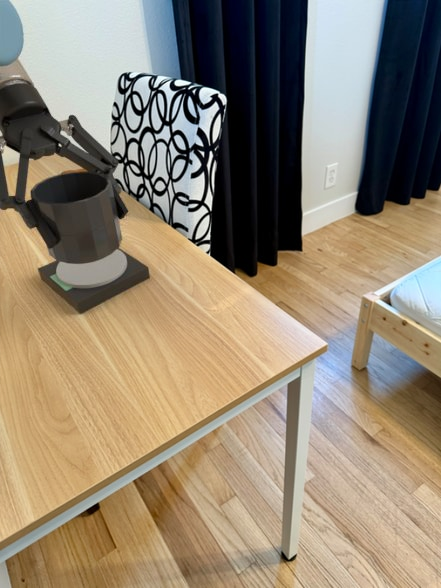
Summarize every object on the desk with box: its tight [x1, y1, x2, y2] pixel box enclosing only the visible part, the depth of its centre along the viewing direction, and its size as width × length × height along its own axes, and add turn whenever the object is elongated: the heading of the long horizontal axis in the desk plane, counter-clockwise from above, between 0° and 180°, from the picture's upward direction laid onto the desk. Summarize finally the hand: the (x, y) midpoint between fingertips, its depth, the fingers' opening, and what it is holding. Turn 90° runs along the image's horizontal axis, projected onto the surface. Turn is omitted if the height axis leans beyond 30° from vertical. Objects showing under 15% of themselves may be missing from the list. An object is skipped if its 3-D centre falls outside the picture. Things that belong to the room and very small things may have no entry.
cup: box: [29, 171, 123, 264], centre depth 64 cm, size 11×11×10 cm
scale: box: [37, 247, 151, 315], centre depth 82 cm, size 15×15×3 cm
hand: (90, 229), depth 63 cm, fingers closed on cup, 11 cm apart
